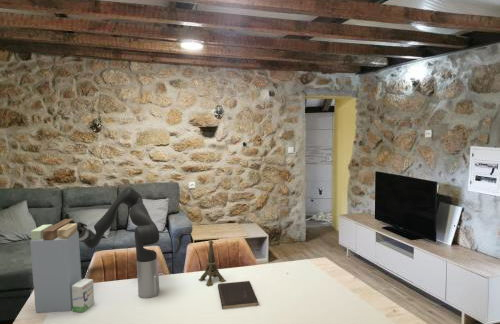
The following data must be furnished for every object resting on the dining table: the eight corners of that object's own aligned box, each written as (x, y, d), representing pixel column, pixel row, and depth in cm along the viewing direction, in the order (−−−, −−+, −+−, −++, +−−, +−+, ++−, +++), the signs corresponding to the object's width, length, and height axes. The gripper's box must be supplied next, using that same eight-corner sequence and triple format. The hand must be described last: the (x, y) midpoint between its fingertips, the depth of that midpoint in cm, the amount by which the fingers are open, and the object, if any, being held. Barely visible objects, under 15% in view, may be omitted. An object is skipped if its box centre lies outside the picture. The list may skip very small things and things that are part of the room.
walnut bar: (74, 226, 179) (73, 218, 179) (53, 240, 158) (52, 231, 157) (65, 227, 179) (65, 218, 179) (43, 240, 157) (42, 231, 157)
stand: (82, 297, 174) (78, 231, 171) (71, 311, 161) (66, 239, 158) (50, 299, 173) (45, 232, 170) (35, 312, 160) (30, 241, 157)
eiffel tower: (215, 275, 197) (214, 229, 195) (226, 281, 189) (224, 233, 186) (198, 280, 191) (196, 233, 189) (208, 286, 183) (206, 237, 180)
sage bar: (52, 232, 169) (52, 224, 169) (41, 240, 158) (40, 230, 158) (44, 233, 169) (43, 224, 169) (31, 240, 158) (30, 231, 158)
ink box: (85, 302, 168) (83, 277, 167) (95, 303, 167) (93, 278, 166) (72, 312, 160) (70, 285, 159) (82, 313, 159) (81, 286, 158)
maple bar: (77, 231, 170) (76, 223, 169) (67, 238, 159) (66, 229, 159) (68, 232, 170) (68, 223, 169) (57, 239, 159) (57, 230, 158)
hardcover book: (249, 285, 184) (249, 280, 184) (258, 306, 162) (258, 301, 162) (217, 288, 182) (217, 283, 182) (222, 310, 159) (222, 305, 159)
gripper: (65, 225, 191) (50, 215, 175) (93, 224, 192) (81, 214, 176) (63, 239, 188) (48, 230, 172) (91, 238, 188) (79, 229, 173)
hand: (65, 222), depth 174 cm, fingers open, 4 cm apart
